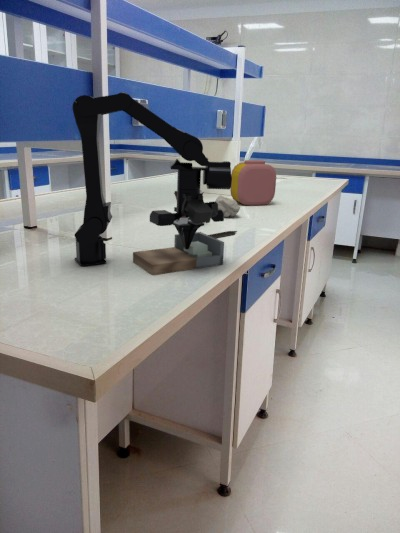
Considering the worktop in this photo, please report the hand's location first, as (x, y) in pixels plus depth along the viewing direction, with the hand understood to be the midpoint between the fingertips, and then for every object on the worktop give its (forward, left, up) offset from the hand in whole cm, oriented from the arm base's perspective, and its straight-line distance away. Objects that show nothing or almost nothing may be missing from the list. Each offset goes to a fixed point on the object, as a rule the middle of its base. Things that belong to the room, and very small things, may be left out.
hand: (186, 249), depth 116 cm
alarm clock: (+71, +67, -4) cm, 97 cm away
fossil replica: (+44, +48, -4) cm, 65 cm away
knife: (+20, +21, -4) cm, 29 cm away
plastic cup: (+23, +41, -4) cm, 47 cm away
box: (+4, +1, -4) cm, 5 cm away
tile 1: (+3, 0, -1) cm, 3 cm away
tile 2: (+4, 0, -3) cm, 5 cm away
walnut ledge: (-6, +1, -4) cm, 7 cm away
